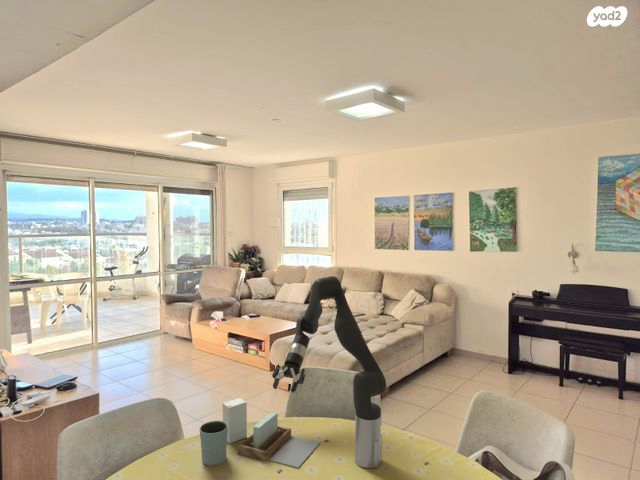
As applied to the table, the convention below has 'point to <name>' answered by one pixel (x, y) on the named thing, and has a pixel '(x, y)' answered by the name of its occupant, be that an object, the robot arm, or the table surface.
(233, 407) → the skincare box
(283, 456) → the grey mat
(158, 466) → the table surface
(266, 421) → the cover plate
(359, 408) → the robot arm
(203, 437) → the grey-green cup
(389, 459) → the table surface
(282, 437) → the walnut box
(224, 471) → the table surface
